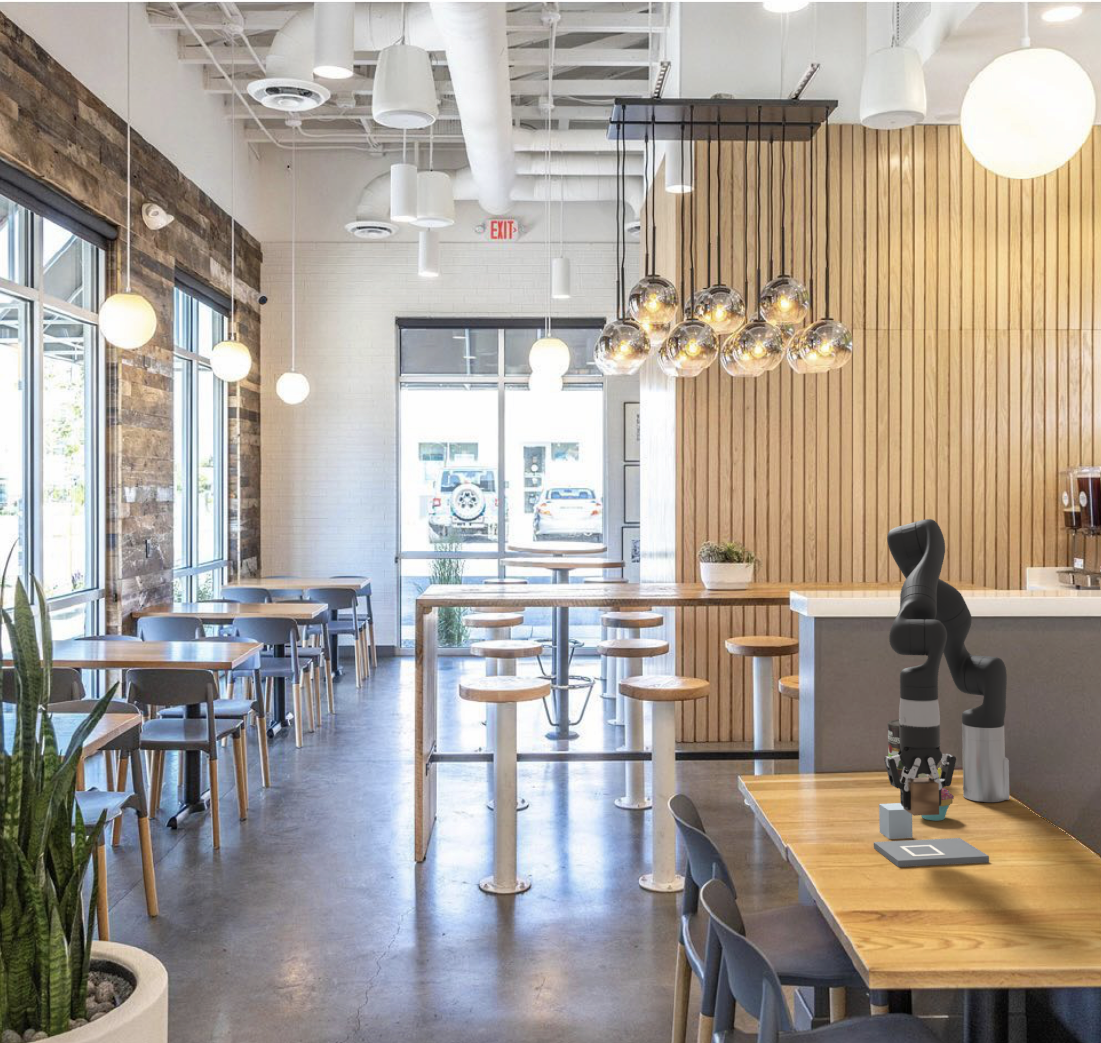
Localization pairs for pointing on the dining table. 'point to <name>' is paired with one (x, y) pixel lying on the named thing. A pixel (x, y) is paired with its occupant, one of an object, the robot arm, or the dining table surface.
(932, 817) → the cupcake
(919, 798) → the walnut block
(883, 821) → the greyblue block
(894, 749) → the coffee can
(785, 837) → the dining table surface
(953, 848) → the grey flat plate
